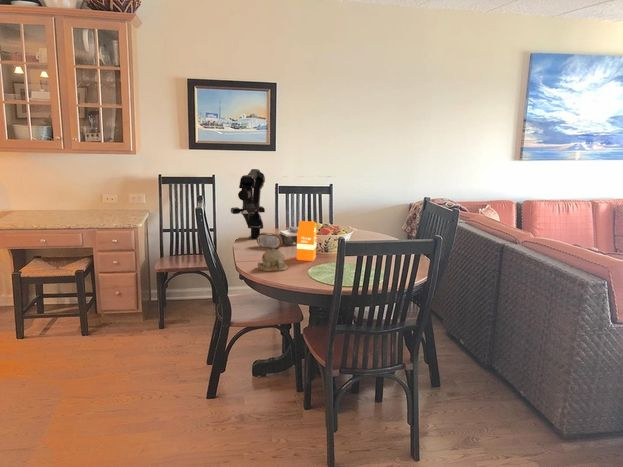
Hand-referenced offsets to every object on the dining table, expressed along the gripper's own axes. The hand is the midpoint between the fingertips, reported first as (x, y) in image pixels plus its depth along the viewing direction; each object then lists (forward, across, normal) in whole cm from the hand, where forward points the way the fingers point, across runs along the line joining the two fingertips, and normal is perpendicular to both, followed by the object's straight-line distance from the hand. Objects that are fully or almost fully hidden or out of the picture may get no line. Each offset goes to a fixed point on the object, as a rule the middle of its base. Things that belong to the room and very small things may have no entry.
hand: (247, 224), depth 268 cm
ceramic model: (+12, -3, -49) cm, 50 cm away
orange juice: (+12, +20, -38) cm, 45 cm away
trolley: (+12, +25, -4) cm, 28 cm away
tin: (+12, +10, -10) cm, 18 cm away
